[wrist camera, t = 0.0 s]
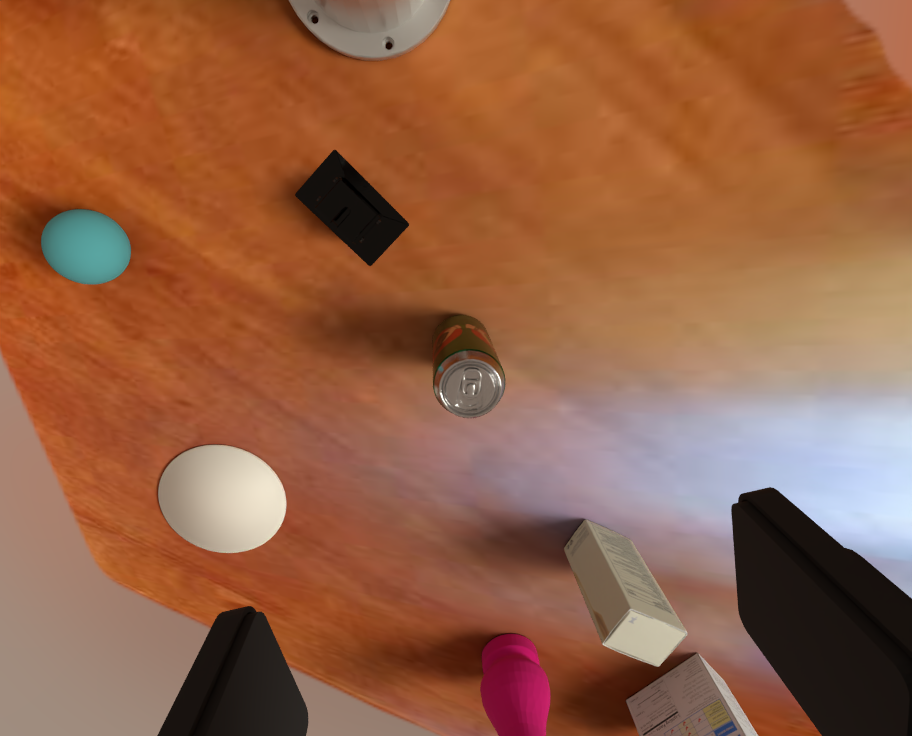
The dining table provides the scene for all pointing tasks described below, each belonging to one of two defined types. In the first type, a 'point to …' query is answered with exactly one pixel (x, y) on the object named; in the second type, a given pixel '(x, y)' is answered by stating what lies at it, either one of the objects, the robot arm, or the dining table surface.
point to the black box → (351, 208)
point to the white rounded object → (222, 498)
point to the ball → (85, 246)
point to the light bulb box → (689, 704)
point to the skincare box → (623, 595)
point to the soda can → (466, 368)
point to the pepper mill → (514, 687)
